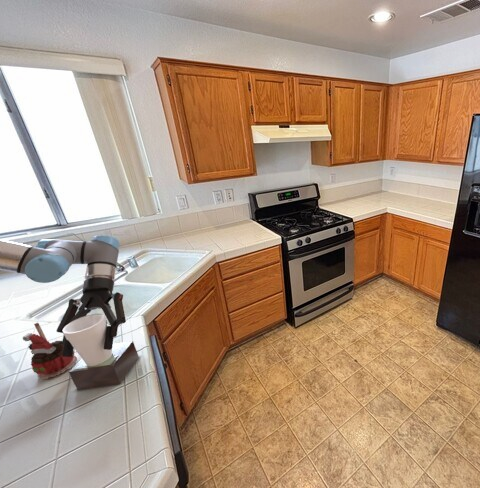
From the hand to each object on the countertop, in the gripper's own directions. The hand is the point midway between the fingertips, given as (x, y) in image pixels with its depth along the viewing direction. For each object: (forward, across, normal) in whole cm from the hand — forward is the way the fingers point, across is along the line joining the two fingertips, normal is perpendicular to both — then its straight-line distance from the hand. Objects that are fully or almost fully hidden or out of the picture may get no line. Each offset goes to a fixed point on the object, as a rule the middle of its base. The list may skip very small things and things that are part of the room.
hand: (87, 352), depth 76 cm
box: (+5, 0, -12) cm, 13 cm away
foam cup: (+1, 0, -6) cm, 6 cm away
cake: (0, +18, -17) cm, 25 cm away
